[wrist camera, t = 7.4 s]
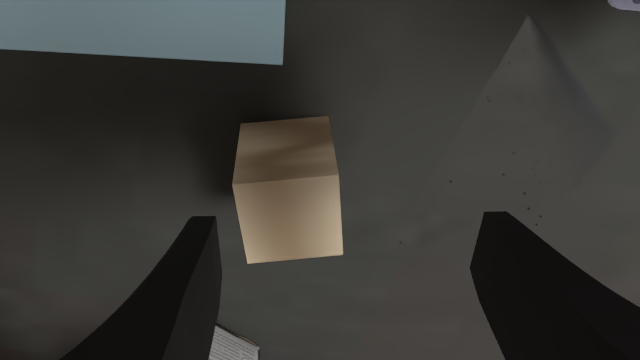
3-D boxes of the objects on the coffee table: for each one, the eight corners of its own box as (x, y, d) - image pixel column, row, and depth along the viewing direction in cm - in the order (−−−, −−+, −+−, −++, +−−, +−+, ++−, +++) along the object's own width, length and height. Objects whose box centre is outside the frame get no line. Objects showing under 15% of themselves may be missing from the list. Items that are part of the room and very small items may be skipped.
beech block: (328, 115, 23) (338, 174, 19) (332, 187, 25) (342, 254, 21) (240, 123, 23) (232, 184, 19) (252, 194, 25) (247, 263, 21)
